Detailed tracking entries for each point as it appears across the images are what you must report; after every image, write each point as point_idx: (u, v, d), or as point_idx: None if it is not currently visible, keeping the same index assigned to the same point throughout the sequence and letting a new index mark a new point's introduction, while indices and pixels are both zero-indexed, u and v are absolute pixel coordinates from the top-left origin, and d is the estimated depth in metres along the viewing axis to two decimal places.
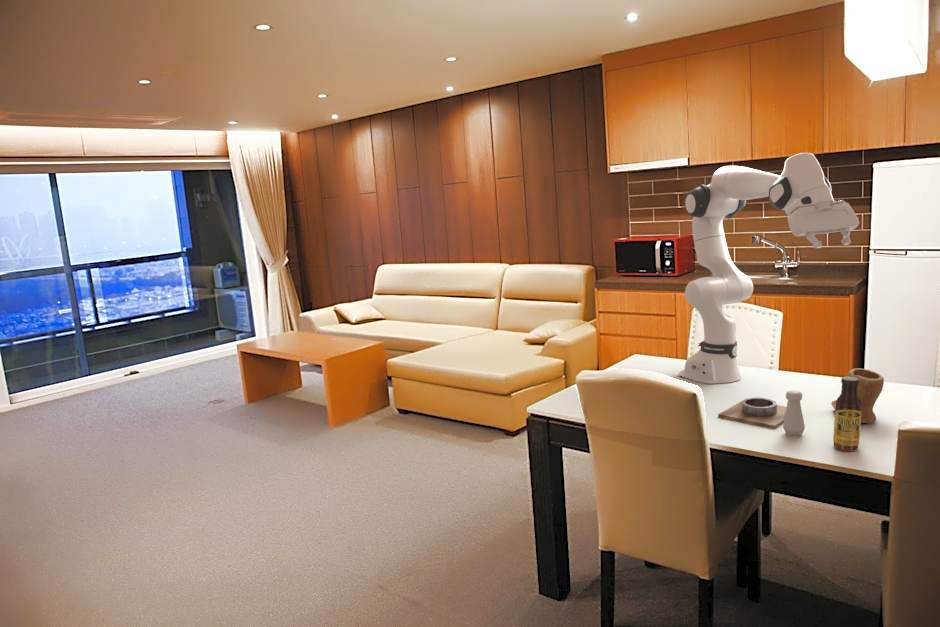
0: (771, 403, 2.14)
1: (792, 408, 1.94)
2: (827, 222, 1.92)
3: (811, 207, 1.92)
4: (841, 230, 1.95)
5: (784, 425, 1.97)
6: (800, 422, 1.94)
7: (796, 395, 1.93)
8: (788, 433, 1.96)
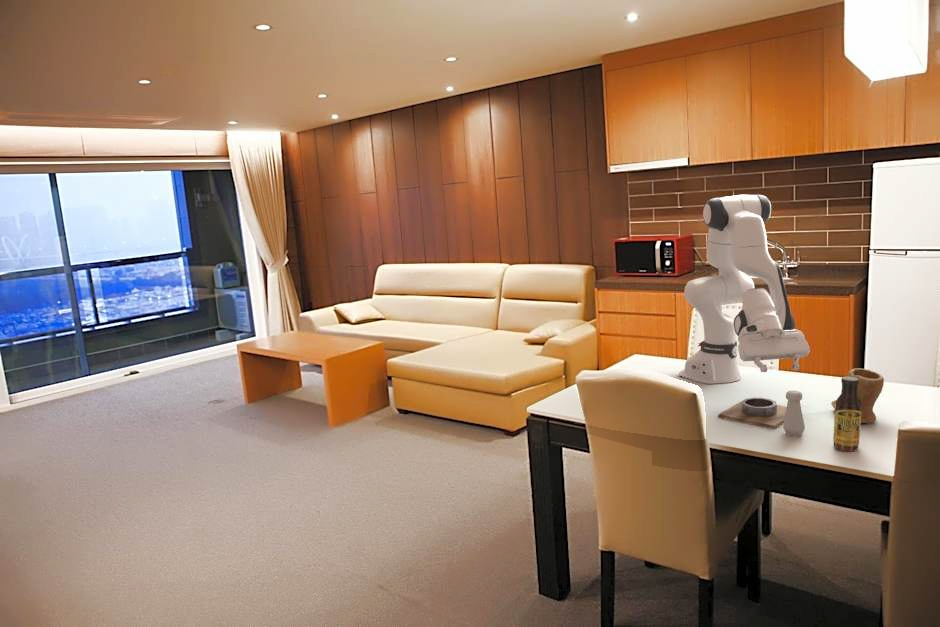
0: (771, 403, 2.14)
1: (792, 408, 1.94)
2: (774, 348, 2.06)
3: (757, 335, 2.08)
4: (792, 356, 2.06)
5: (784, 425, 1.97)
6: (800, 422, 1.94)
7: (796, 395, 1.93)
8: (788, 433, 1.96)
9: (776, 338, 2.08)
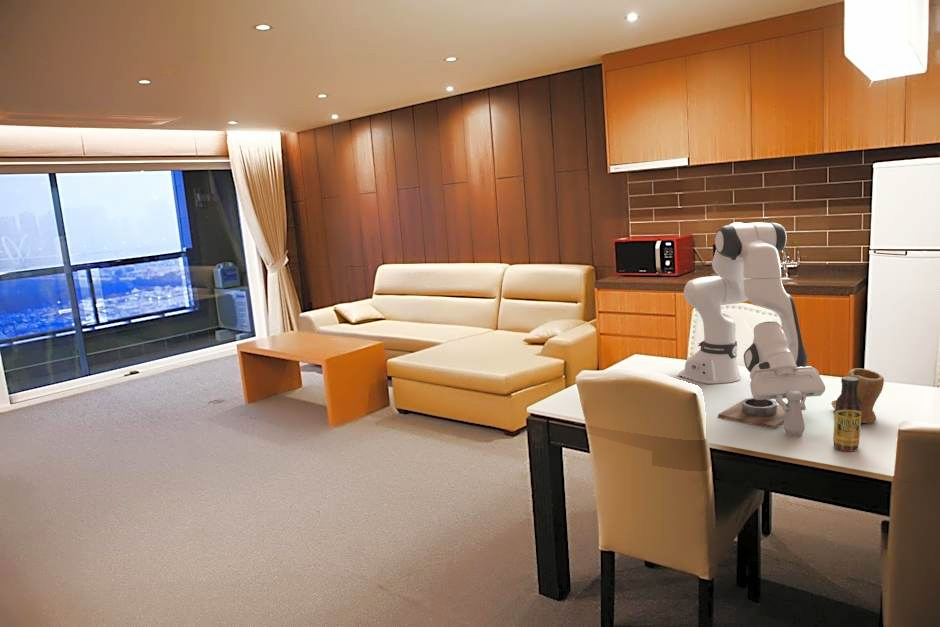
0: (771, 403, 2.14)
1: (792, 408, 1.94)
2: (788, 387, 1.97)
3: (770, 372, 1.99)
4: None
5: (784, 425, 1.97)
6: (800, 422, 1.94)
7: (796, 395, 1.93)
8: (788, 433, 1.96)
9: (790, 376, 1.99)
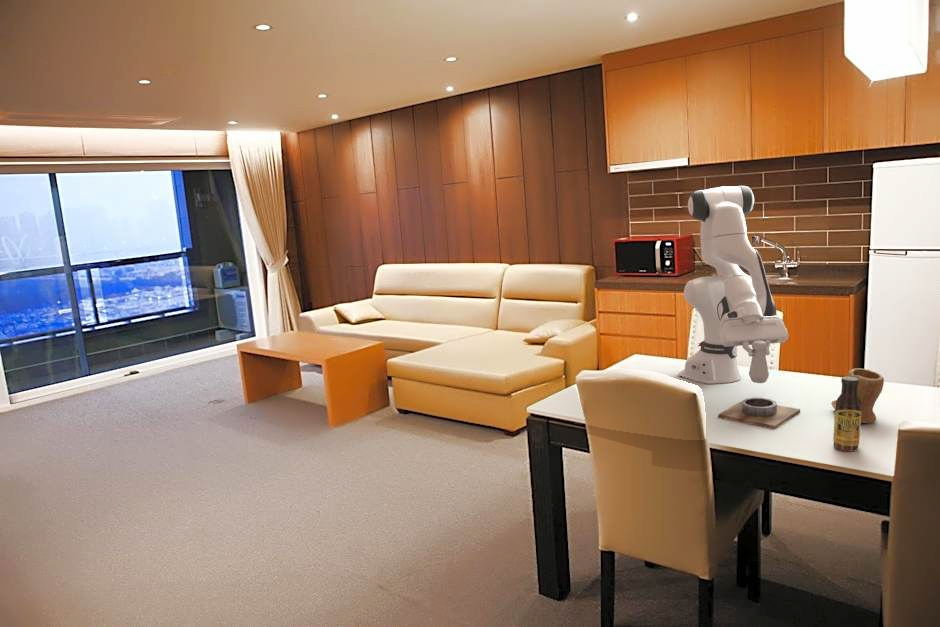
0: (771, 403, 2.14)
1: (758, 357, 2.10)
2: (753, 334, 2.13)
3: (737, 321, 2.15)
4: None
5: (750, 373, 2.12)
6: (764, 370, 2.10)
7: (761, 344, 2.08)
8: (753, 379, 2.12)
9: (756, 324, 2.15)
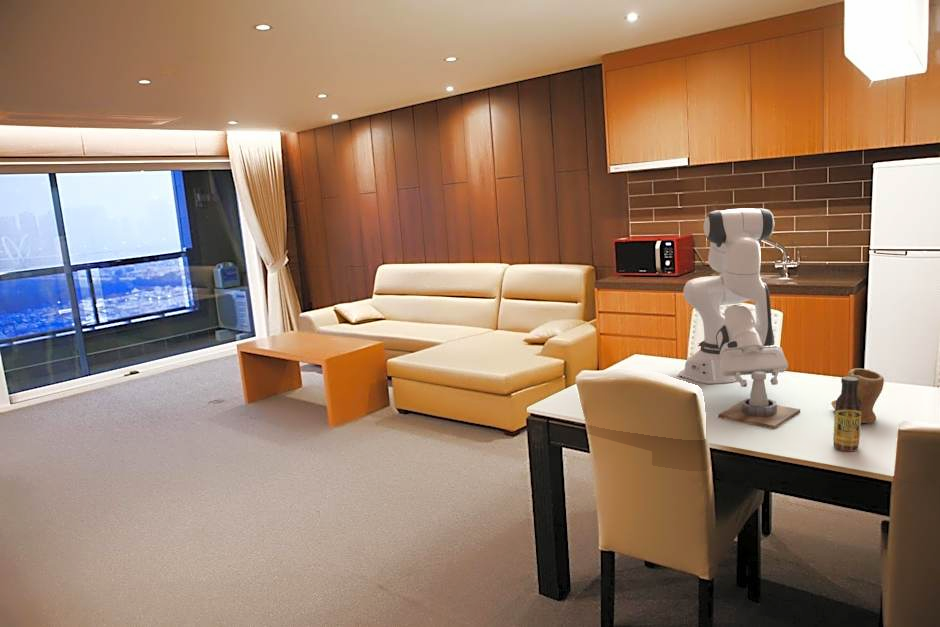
0: (771, 403, 2.14)
1: (757, 387, 2.12)
2: (753, 364, 2.15)
3: (737, 350, 2.17)
4: (771, 371, 2.15)
5: (750, 403, 2.14)
6: (764, 400, 2.12)
7: (760, 374, 2.11)
8: None
9: (756, 354, 2.17)
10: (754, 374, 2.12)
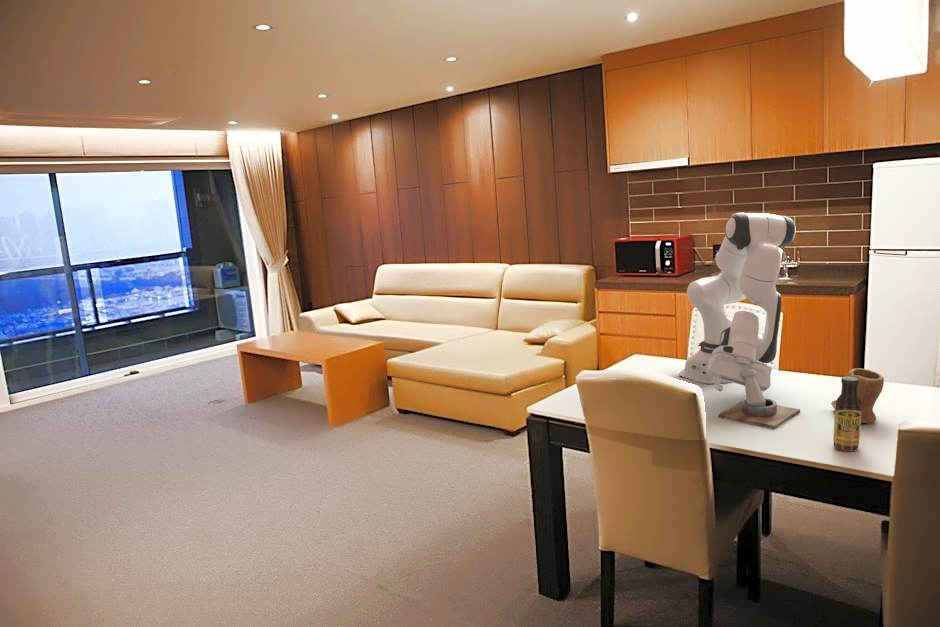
0: (771, 403, 2.14)
1: (750, 383, 2.15)
2: (739, 374, 2.18)
3: (730, 357, 2.18)
4: None
5: (747, 401, 2.14)
6: (760, 395, 2.13)
7: (750, 370, 2.15)
8: None
9: (745, 366, 2.19)
10: (744, 371, 2.16)
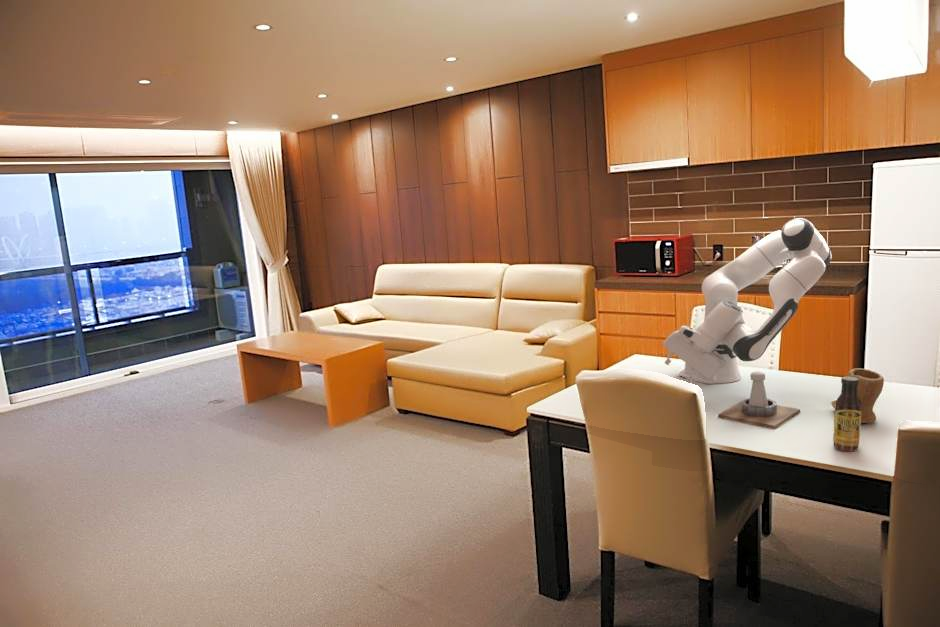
0: (771, 403, 2.14)
1: (757, 388, 2.11)
2: (688, 357, 2.32)
3: (686, 340, 2.31)
4: None
5: (750, 404, 2.13)
6: (765, 401, 2.11)
7: (760, 375, 2.10)
8: None
9: (699, 352, 2.31)
10: (754, 375, 2.11)
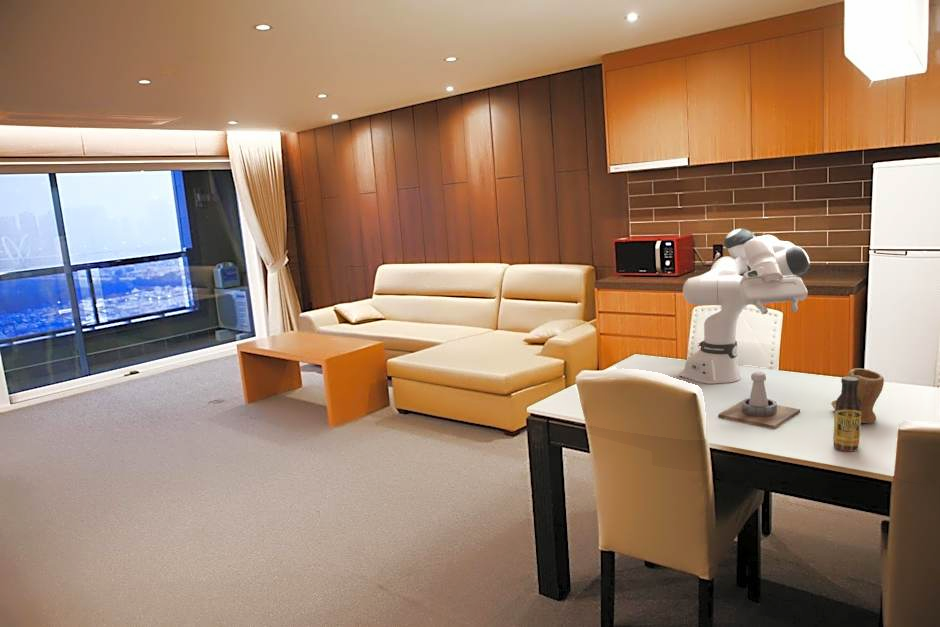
0: (771, 403, 2.14)
1: (758, 389, 2.11)
2: (774, 291, 2.18)
3: (757, 279, 2.20)
4: (791, 299, 2.18)
5: (750, 405, 2.13)
6: (765, 401, 2.11)
7: (761, 376, 2.09)
8: None
9: (776, 282, 2.20)
10: (755, 376, 2.10)
